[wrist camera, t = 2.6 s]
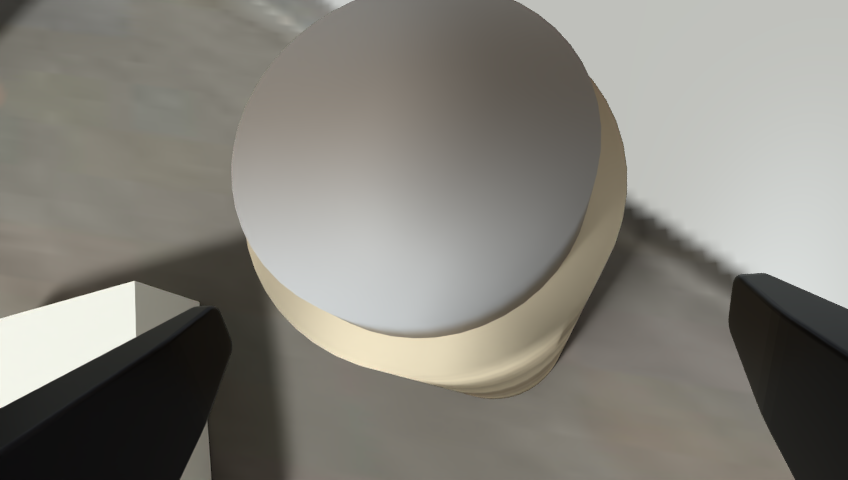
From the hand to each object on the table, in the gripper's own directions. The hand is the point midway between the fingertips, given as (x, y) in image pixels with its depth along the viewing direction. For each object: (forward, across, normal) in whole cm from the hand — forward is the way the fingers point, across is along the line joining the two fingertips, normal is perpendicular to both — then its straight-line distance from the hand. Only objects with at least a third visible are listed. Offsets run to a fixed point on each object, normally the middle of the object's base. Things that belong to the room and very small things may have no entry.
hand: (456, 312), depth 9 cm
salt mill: (+7, 0, +5) cm, 9 cm away
